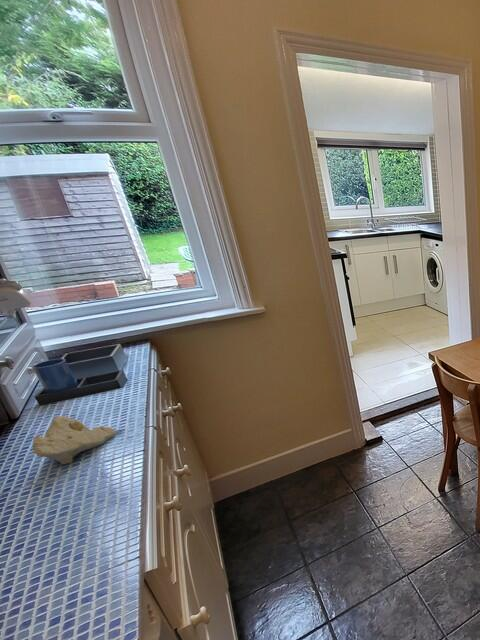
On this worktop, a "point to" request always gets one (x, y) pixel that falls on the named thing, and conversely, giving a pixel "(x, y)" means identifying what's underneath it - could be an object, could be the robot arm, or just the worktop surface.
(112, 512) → the worktop surface
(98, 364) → the sink
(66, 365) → the cup
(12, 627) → the worktop surface
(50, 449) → the cheese
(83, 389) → the divided tray
